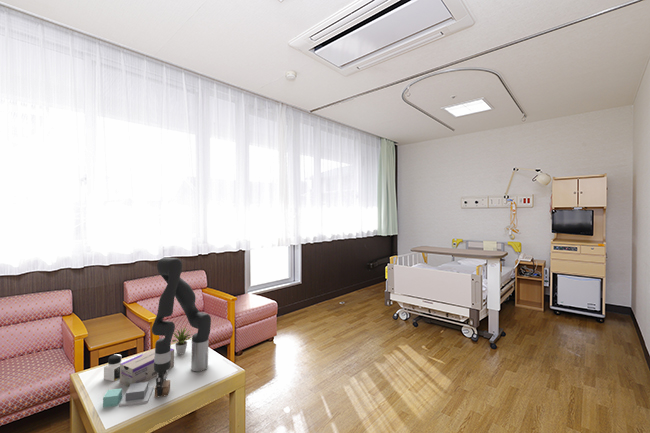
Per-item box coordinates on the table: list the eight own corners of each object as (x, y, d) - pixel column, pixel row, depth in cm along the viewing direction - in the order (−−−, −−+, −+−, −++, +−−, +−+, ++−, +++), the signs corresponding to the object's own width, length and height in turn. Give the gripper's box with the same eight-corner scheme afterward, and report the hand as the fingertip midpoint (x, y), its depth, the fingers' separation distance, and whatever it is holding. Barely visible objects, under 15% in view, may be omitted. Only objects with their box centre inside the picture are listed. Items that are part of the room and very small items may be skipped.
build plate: (153, 388, 159) (153, 379, 159) (147, 402, 148) (147, 392, 148) (127, 391, 156) (127, 382, 156) (119, 406, 144) (119, 396, 144)
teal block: (122, 398, 151) (122, 388, 150) (117, 405, 145) (117, 395, 145) (108, 399, 149) (108, 389, 149) (102, 407, 143) (103, 397, 143)
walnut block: (170, 389, 160) (170, 379, 159) (167, 396, 154) (167, 386, 154) (157, 390, 158) (157, 381, 158) (154, 397, 152) (154, 388, 152)
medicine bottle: (114, 381, 164) (114, 360, 163) (103, 379, 165) (103, 358, 165) (125, 374, 171) (125, 353, 170) (114, 372, 172) (115, 352, 172)
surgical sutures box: (132, 388, 158) (132, 369, 158) (119, 383, 163) (120, 363, 162) (173, 366, 181) (174, 349, 181) (161, 362, 185) (162, 345, 185)
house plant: (175, 361, 187) (175, 335, 186) (163, 354, 194) (163, 329, 194) (196, 352, 199) (196, 328, 198) (183, 346, 206) (184, 322, 206)
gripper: (167, 366, 150) (166, 398, 150) (173, 352, 163) (172, 382, 164) (150, 367, 147) (149, 400, 148) (157, 353, 161) (156, 383, 162)
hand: (161, 390), depth 156 cm, fingers open, 7 cm apart
